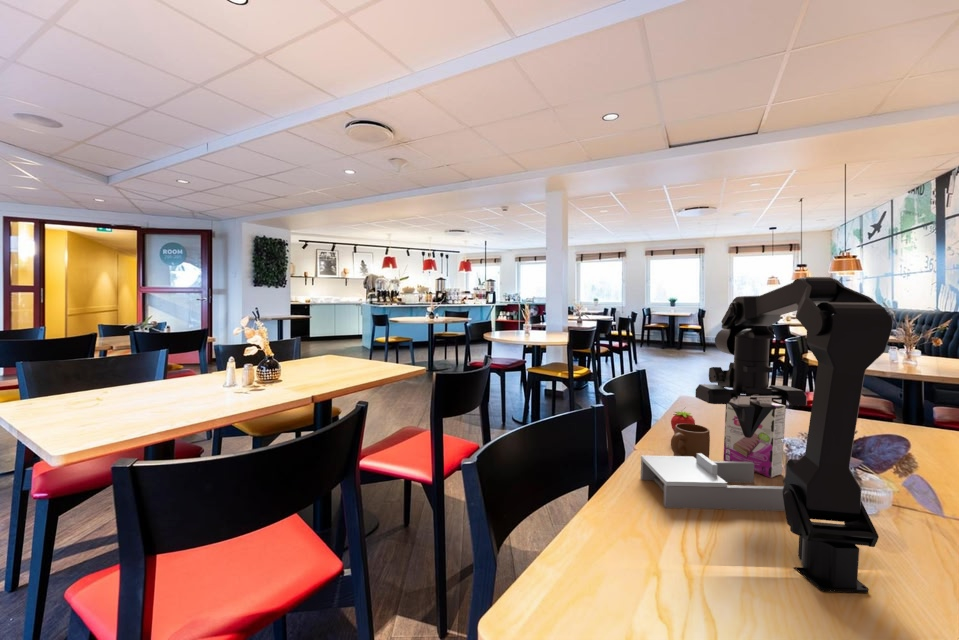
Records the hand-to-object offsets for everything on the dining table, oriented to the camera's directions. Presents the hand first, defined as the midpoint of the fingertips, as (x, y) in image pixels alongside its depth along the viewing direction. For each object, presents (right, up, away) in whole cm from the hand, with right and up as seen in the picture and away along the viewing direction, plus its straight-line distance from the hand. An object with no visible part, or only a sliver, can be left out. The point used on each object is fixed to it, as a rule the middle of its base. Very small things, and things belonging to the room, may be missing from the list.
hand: (747, 437), depth 81 cm
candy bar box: (+11, -12, +16) cm, 23 cm away
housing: (-7, -12, +1) cm, 14 cm away
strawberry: (+4, -11, +34) cm, 36 cm away
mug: (-5, -12, +15) cm, 20 cm away
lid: (-13, -7, +1) cm, 15 cm away
